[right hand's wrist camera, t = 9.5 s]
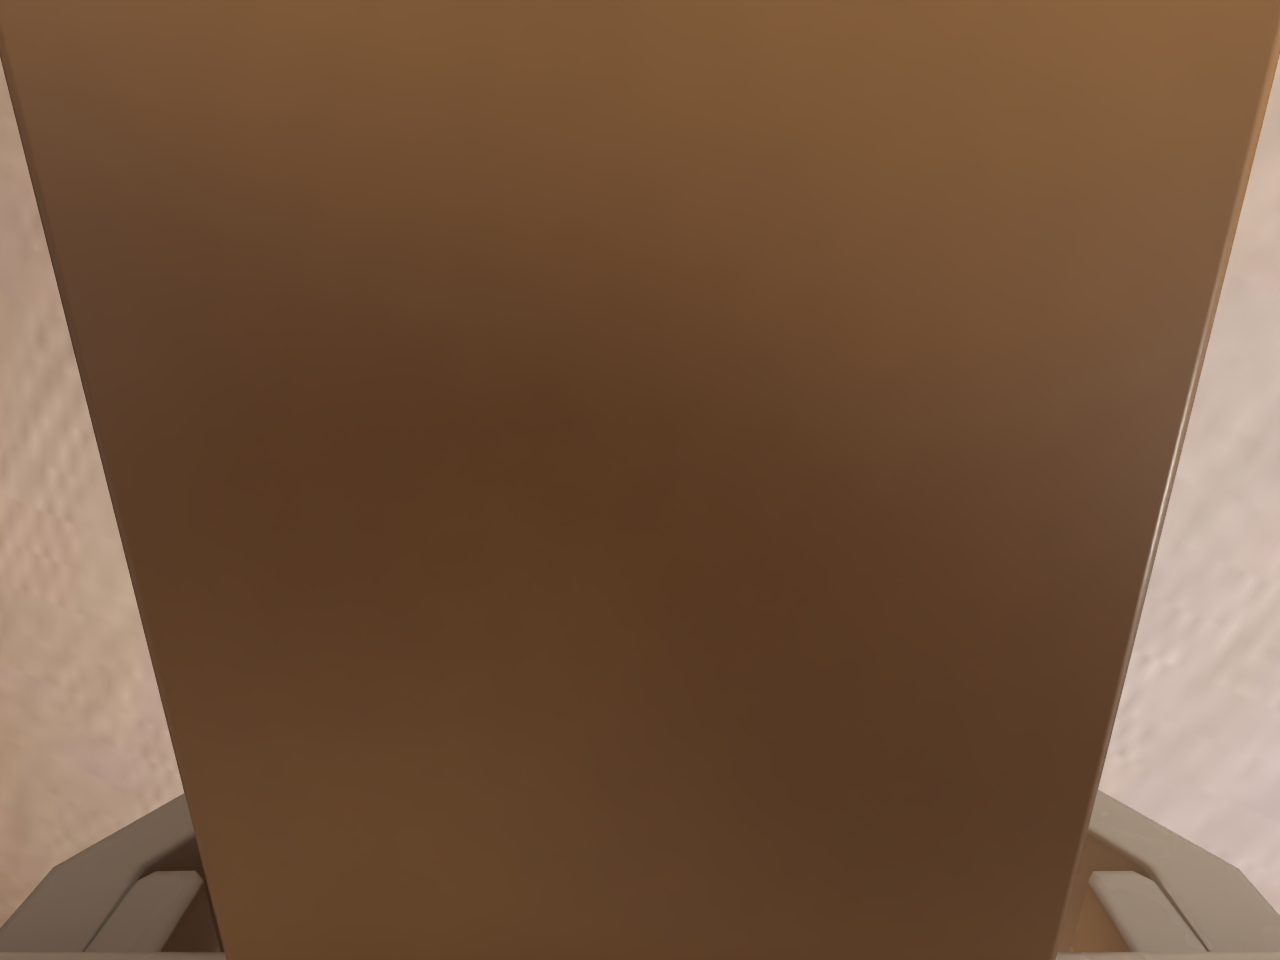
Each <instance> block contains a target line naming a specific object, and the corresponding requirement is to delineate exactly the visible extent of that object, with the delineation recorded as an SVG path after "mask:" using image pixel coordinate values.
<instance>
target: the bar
mask: <svg viewBox="0 0 1280 960" xmlns="http://www.w3.org/2000/svg"><path fill="white" fill-rule="evenodd" d="M1279 55H1280V0H0V58H1V62H2V66H3V70H4V74H5V78H6V82H7V86H8V90H9V94H10V98H11V102H12V106H13V110H14V114H15V118H16V122H17V126H18V130H19V134H20V138H21V142H22V146H23V150H24V154H25V158H26V162H27V166H28V170H29V174H30V178H31V182H32V185H33V189H34V193H35V197H36V201H37V205H38V209H39V213H40V217H41V221H42V225H43V229H44V233H45V237H46V241H47V245H48V249H49V253H50V257H51V261H52V265H53V269H54V273H55V277H56V281H57V285H58V289H59V293H60V297H61V301H62V305H63V309H64V313H65V317H66V321H67V325H68V329H69V333H70V337H71V341H72V345H73V349H74V353H75V357H76V361H77V365H78V369H79V373H80V377H81V381H82V385H83V389H84V393H85V397H86V401H87V405H88V409H89V413H90V417H91V421H92V425H93V429H94V433H95V437H96V441H97V445H98V449H99V453H100V457H101V461H102V465H103V469H104V473H105V477H106V481H107V485H108V489H109V493H110V497H111V501H112V505H113V509H114V513H115V517H116V521H117V525H118V529H119V533H120V537H121V541H122V545H123V549H124V553H125V557H126V561H127V565H128V569H129V573H130V577H131V581H132V585H133V589H134V593H135V597H136V601H137V605H138V609H139V613H140V617H141V621H142V625H143V629H144V633H145V637H146V641H147V645H148V649H149V653H150V657H151V661H152V665H153V669H154V673H155V677H156V681H157V685H158V689H159V693H160V697H161V701H162V705H163V709H164V713H165V717H166V721H167V725H168V729H169V733H170V737H171V741H172V745H173V749H174V753H175V757H176V761H177V765H178V769H179V773H180V777H181V781H182V785H183V789H184V793H185V797H186V801H187V805H188V809H189V813H190V817H191V821H192V825H193V829H194V833H195V837H196V841H197V845H198V848H199V852H200V856H201V860H202V864H203V868H204V872H205V876H206V880H207V884H208V888H209V892H210V896H211V900H212V904H213V908H214V912H215V916H216V920H217V924H218V928H219V932H220V936H221V940H222V944H223V948H224V952H225V956H226V960H1056V956H1057V952H1058V948H1059V944H1060V940H1061V936H1062V932H1063V928H1064V924H1065V920H1066V916H1067V912H1068V908H1069V904H1070V900H1071V896H1072V892H1073V887H1074V883H1075V879H1076V875H1077V871H1078V867H1079V863H1080V859H1081V855H1082V851H1083V847H1084V843H1085V839H1086V835H1087V831H1088V827H1089V823H1090V819H1091V815H1092V811H1093V807H1094V803H1095V799H1096V794H1097V790H1098V786H1099V782H1100V778H1101V774H1102V770H1103V766H1104V762H1105V758H1106V754H1107V750H1108V746H1109V742H1110V738H1111V734H1112V730H1113V726H1114V722H1115V718H1116V714H1117V710H1118V706H1119V702H1120V698H1121V693H1122V689H1123V685H1124V681H1125V677H1126V673H1127V669H1128V665H1129V661H1130V657H1131V653H1132V649H1133V645H1134V641H1135V637H1136V633H1137V629H1138V625H1139V621H1140V617H1141V613H1142V609H1143V605H1144V601H1145V596H1146V592H1147V588H1148V584H1149V580H1150V576H1151V572H1152V568H1153V564H1154V560H1155V556H1156V552H1157V548H1158V544H1159V540H1160V536H1161V532H1162V528H1163V524H1164V520H1165V516H1166V512H1167V508H1168V504H1169V499H1170V495H1171V491H1172V487H1173V483H1174V479H1175V475H1176V471H1177V467H1178V463H1179V459H1180V455H1181V451H1182V447H1183V443H1184V439H1185V435H1186V431H1187V427H1188V423H1189V419H1190V415H1191V411H1192V407H1193V402H1194V398H1195V394H1196V390H1197V386H1198V382H1199V378H1200V374H1201V370H1202V366H1203V362H1204V358H1205V354H1206V350H1207V346H1208V342H1209V338H1210V334H1211V330H1212V326H1213V322H1214V318H1215V314H1216V310H1217V305H1218V301H1219V297H1220V293H1221V289H1222V285H1223V281H1224V277H1225V273H1226V269H1227V265H1228V261H1229V257H1230V253H1231V249H1232V245H1233V241H1234V237H1235V233H1236V229H1237V225H1238V221H1239V217H1240V213H1241V208H1242V204H1243V200H1244V196H1245V192H1246V188H1247V184H1248V180H1249V176H1250V172H1251V168H1252V164H1253V160H1254V156H1255V152H1256V148H1257V144H1258V140H1259V136H1260V132H1261V128H1262V124H1263V120H1264V116H1265V111H1266V107H1267V103H1268V99H1269V95H1270V91H1271V87H1272V83H1273V79H1274V75H1275V71H1276V67H1277V63H1278V59H1279Z"/></svg>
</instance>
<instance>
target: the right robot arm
mask: <svg viewBox="0 0 1280 960" xmlns="http://www.w3.org/2000/svg"><path fill="white" fill-rule="evenodd" d="M0 960H226V956H225V952H224V948H223V944H222V940H221V936H220V932H219V928H218V924H217V920H216V916H215V912H214V908H213V904H212V900H211V896H210V892H209V888H208V884H207V880H206V876H205V872H204V868H203V864H202V860H201V856H200V852H199V848H198V845H197V841H196V837H195V833H194V829H193V825H192V821H191V817H190V813H189V809H188V805H187V801H186V797H185V793H184V794H182V795H181V796H179V797H177V798H175V799H174V800H172V801H170V802H168V803H166V804H165V805H163V806H161V807H159V808H158V809H156V810H154V811H152V812H151V813H149V814H147V815H145V816H144V817H142V818H140V819H138V820H136V821H135V822H133V823H131V824H129V825H128V826H126V827H124V828H122V829H121V830H119V831H117V832H115V833H113V834H112V835H110V836H108V837H106V838H105V839H103V840H101V841H99V842H98V843H96V844H94V845H92V846H91V847H89V848H87V849H85V850H83V851H82V852H80V853H78V854H76V855H75V856H73V857H71V858H69V859H68V860H66V861H64V862H62V863H61V864H59V865H57V866H55V867H53V869H52V870H51V871H50V872H49V873H48V874H47V876H46V877H45V878H44V879H43V880H42V881H41V882H40V884H39V885H38V886H37V887H36V888H35V889H34V891H33V892H32V893H31V894H30V895H29V896H28V897H27V899H26V900H25V901H24V902H23V903H22V904H21V905H20V907H19V908H18V909H17V910H16V911H15V912H14V914H13V915H12V916H11V917H10V918H9V919H8V920H7V922H6V923H5V924H4V925H3V926H2V927H1V929H0ZM1056 960H1280V915H1279V914H1278V913H1277V912H1276V911H1275V910H1274V908H1273V907H1272V906H1271V905H1270V904H1269V903H1268V902H1267V900H1266V899H1265V898H1264V897H1263V896H1262V895H1261V894H1260V892H1259V891H1258V890H1257V889H1256V888H1255V887H1254V886H1253V884H1252V883H1251V882H1250V881H1249V880H1248V879H1247V878H1246V876H1245V875H1244V874H1243V873H1242V872H1241V871H1240V870H1239V869H1238V868H1236V867H1235V866H1233V865H1231V864H1229V863H1228V862H1226V861H1224V860H1222V859H1220V858H1219V857H1217V856H1215V855H1213V854H1212V853H1210V852H1208V851H1206V850H1204V849H1203V848H1201V847H1199V846H1197V845H1196V844H1194V843H1192V842H1190V841H1188V840H1187V839H1185V838H1183V837H1181V836H1180V835H1178V834H1176V833H1174V832H1172V831H1171V830H1169V829H1167V828H1165V827H1164V826H1162V825H1160V824H1158V823H1157V822H1155V821H1153V820H1151V819H1149V818H1148V817H1146V816H1144V815H1142V814H1141V813H1139V812H1137V811H1135V810H1133V809H1132V808H1130V807H1128V806H1126V805H1125V804H1123V803H1121V802H1119V801H1117V800H1116V799H1114V798H1112V797H1110V796H1109V795H1107V794H1105V793H1103V792H1101V791H1100V790H1097V794H1096V799H1095V803H1094V807H1093V811H1092V815H1091V819H1090V823H1089V827H1088V831H1087V835H1086V839H1085V843H1084V847H1083V851H1082V855H1081V859H1080V863H1079V867H1078V871H1077V875H1076V879H1075V883H1074V887H1073V892H1072V896H1071V900H1070V904H1069V908H1068V912H1067V916H1066V920H1065V924H1064V928H1063V932H1062V936H1061V940H1060V944H1059V948H1058V952H1057V956H1056Z"/></svg>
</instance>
